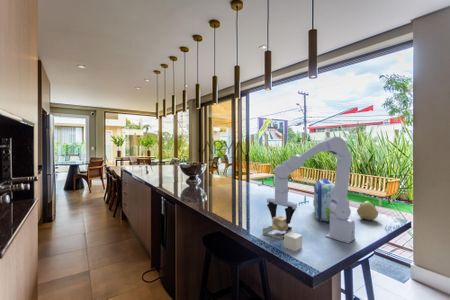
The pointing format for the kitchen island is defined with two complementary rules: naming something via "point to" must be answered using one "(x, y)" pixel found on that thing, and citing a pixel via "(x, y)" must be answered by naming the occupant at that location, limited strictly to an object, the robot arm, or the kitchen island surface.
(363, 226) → the kitchen island surface
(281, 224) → the oak cube
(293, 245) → the cream cube
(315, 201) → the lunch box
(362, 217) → the tan lumpy ball
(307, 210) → the kitchen island surface
